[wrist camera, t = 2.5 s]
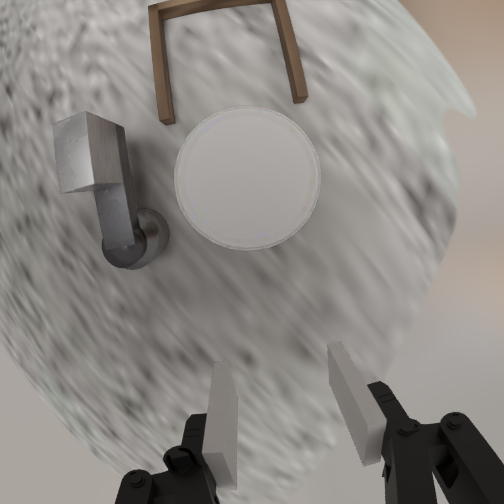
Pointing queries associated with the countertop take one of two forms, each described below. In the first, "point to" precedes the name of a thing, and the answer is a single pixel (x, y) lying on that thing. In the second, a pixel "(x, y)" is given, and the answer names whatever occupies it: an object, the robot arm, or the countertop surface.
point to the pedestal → (152, 235)
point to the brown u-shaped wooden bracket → (186, 3)
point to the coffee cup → (247, 178)
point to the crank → (101, 181)
